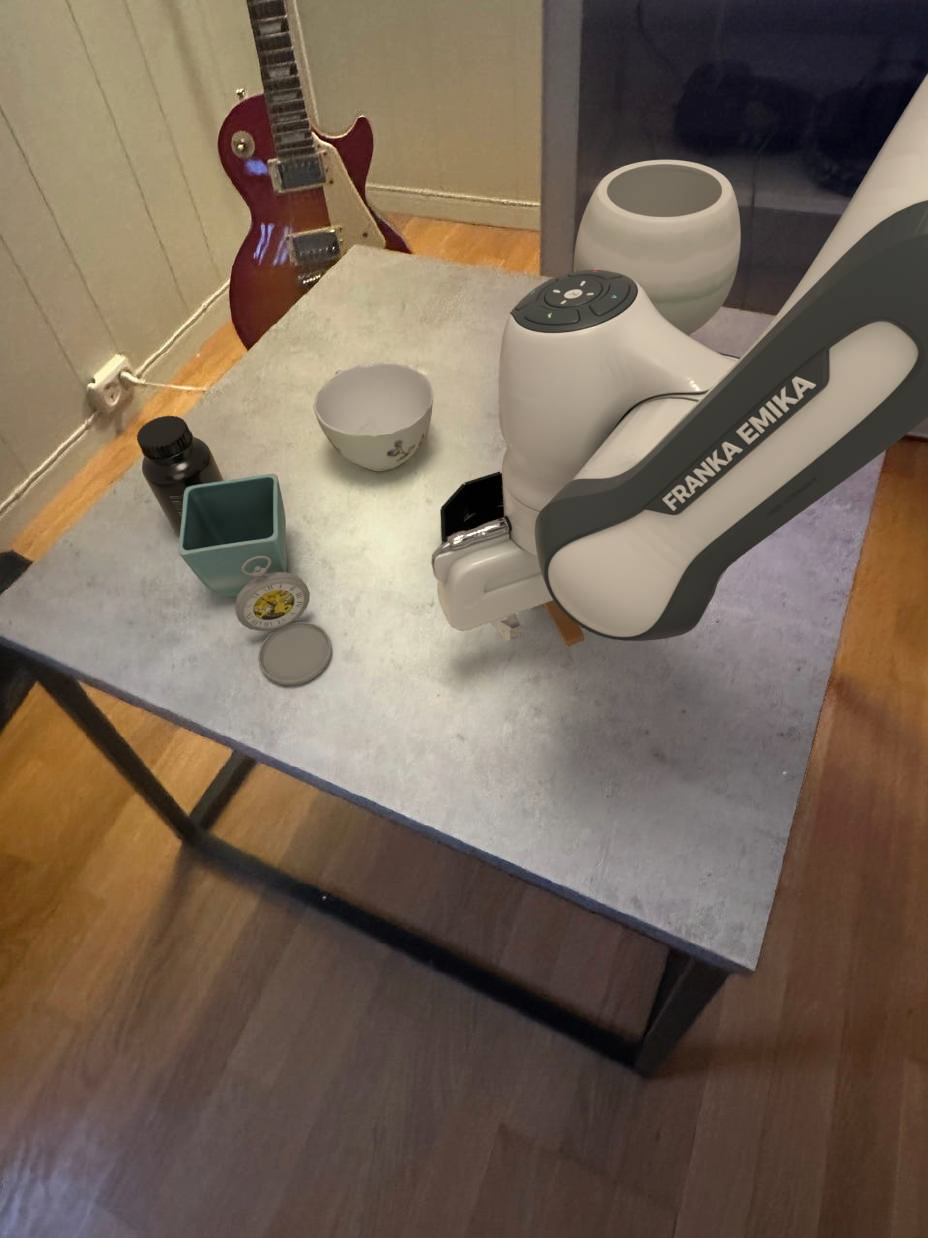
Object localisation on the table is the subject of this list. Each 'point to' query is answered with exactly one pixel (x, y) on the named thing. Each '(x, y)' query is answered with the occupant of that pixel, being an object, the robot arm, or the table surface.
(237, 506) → the flower pot
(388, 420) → the white floral bowl
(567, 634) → the saucepan
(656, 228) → the planter
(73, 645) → the table surface
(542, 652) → the table surface
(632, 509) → the robot arm
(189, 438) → the supplement bottle
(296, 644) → the pocket watch
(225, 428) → the table surface
